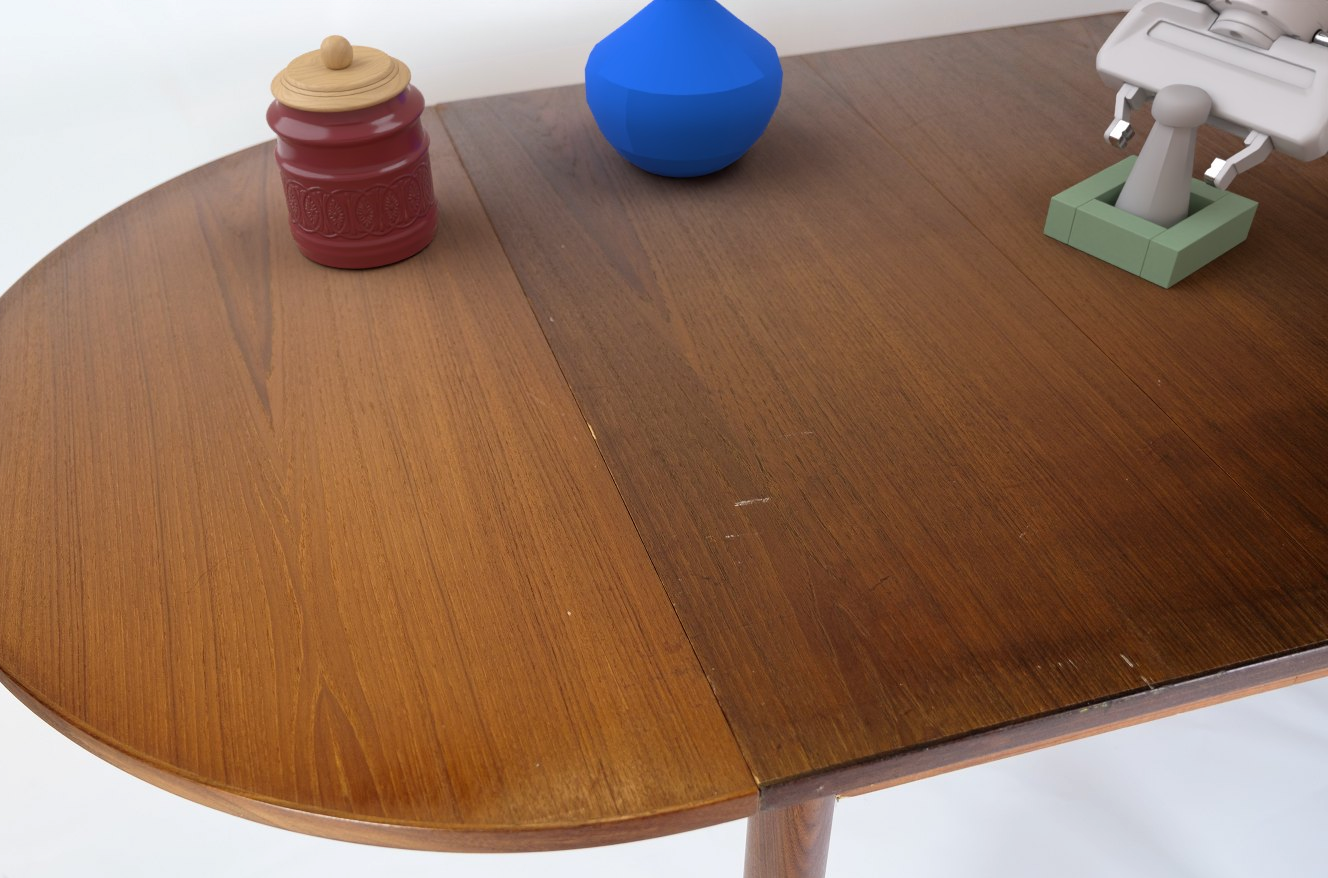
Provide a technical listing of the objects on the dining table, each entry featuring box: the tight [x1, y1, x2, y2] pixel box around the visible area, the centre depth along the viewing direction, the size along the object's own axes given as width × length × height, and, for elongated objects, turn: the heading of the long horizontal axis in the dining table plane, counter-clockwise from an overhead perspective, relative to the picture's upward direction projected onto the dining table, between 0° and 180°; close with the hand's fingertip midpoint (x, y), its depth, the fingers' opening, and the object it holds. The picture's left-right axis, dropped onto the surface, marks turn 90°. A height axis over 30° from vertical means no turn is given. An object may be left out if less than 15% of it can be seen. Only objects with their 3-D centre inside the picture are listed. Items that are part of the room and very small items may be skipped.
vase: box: [584, 0, 784, 178], centre depth 114 cm, size 18×18×19 cm
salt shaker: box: [1114, 84, 1212, 230], centre depth 102 cm, size 6×6×13 cm
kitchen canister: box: [265, 34, 440, 270], centre depth 104 cm, size 13×13×18 cm
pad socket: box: [1042, 154, 1259, 290], centre depth 105 cm, size 12×12×4 cm
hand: (1161, 163), depth 101 cm, fingers open, 8 cm apart
